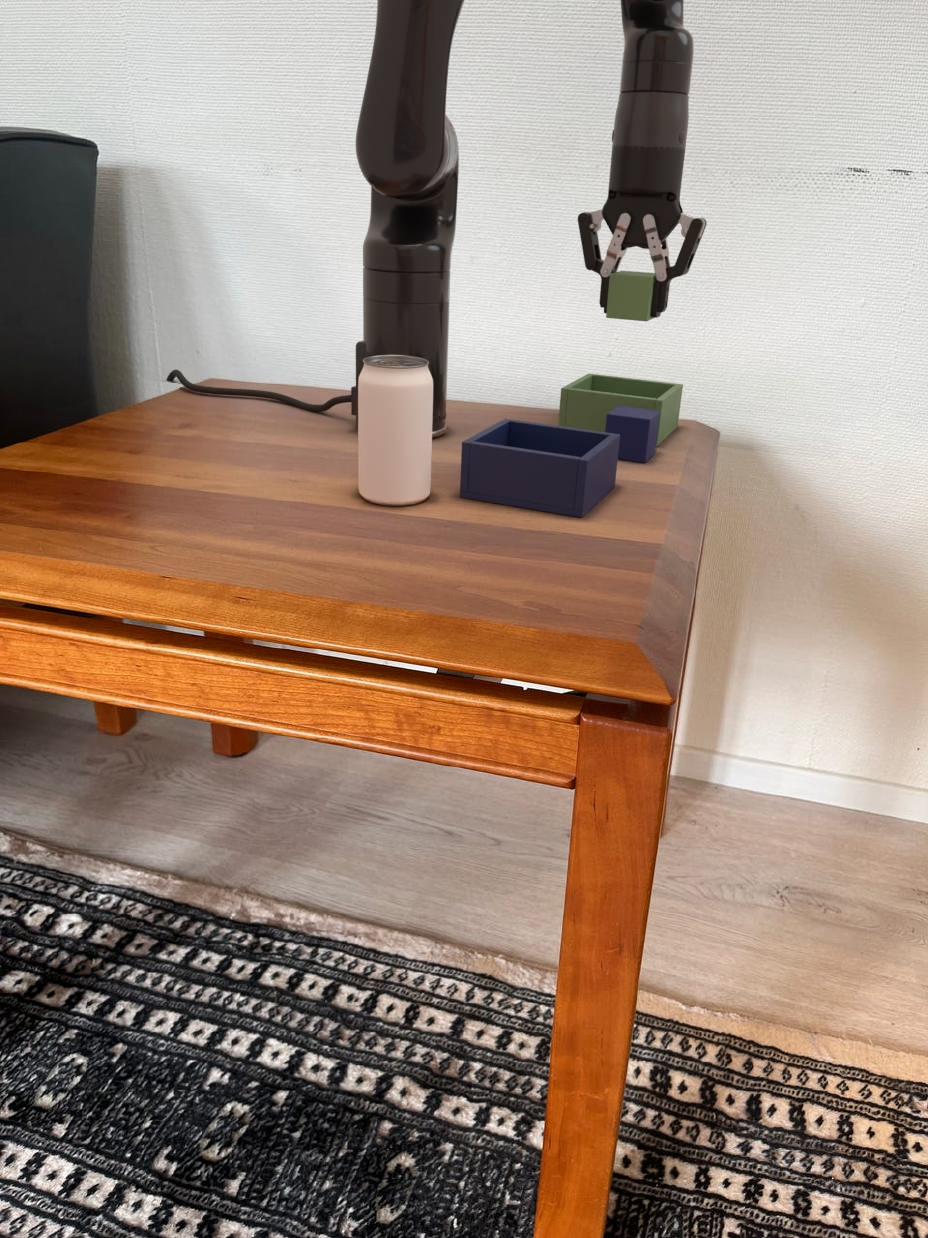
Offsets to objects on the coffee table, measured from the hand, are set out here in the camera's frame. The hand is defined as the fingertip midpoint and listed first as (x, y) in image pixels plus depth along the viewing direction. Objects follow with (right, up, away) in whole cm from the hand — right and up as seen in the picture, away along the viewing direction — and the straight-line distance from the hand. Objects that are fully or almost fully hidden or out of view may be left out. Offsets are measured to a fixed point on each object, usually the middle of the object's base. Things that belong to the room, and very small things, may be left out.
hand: (631, 313), depth 109 cm
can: (-25, -23, -20) cm, 39 cm away
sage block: (0, 0, 0) cm, 0 cm away
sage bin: (0, -12, +6) cm, 13 cm away
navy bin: (-12, -22, -17) cm, 30 cm away
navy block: (-1, -16, -4) cm, 17 cm away
